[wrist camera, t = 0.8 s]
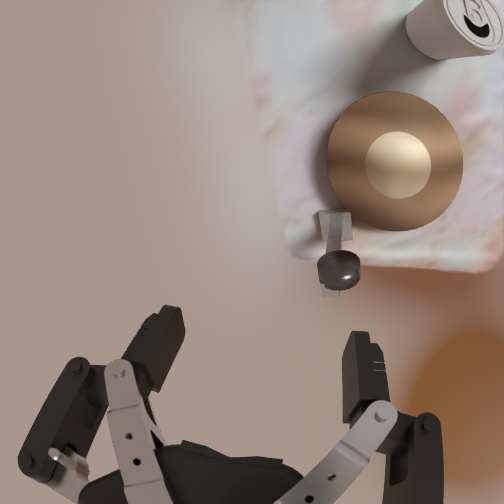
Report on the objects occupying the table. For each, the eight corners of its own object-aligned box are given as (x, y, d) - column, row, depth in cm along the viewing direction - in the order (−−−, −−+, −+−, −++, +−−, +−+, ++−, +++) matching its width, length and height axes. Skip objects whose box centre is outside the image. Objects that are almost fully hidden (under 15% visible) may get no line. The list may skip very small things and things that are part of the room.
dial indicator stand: (319, 210, 34) (305, 277, 24) (356, 208, 32) (360, 276, 22) (323, 237, 36) (311, 309, 26) (358, 235, 34) (360, 308, 24)
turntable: (313, 97, 24) (313, 98, 23) (454, 93, 18) (459, 94, 17) (336, 229, 33) (335, 234, 32) (455, 224, 27) (458, 229, 26)
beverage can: (407, 54, 19) (446, 41, 10) (400, 4, 15) (430, -31, 6) (457, 65, 17) (513, 66, 8) (451, 16, 13) (501, -4, 4)
